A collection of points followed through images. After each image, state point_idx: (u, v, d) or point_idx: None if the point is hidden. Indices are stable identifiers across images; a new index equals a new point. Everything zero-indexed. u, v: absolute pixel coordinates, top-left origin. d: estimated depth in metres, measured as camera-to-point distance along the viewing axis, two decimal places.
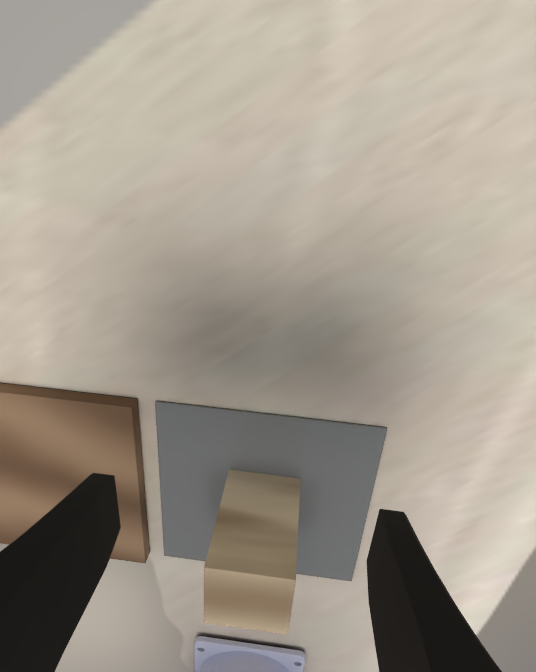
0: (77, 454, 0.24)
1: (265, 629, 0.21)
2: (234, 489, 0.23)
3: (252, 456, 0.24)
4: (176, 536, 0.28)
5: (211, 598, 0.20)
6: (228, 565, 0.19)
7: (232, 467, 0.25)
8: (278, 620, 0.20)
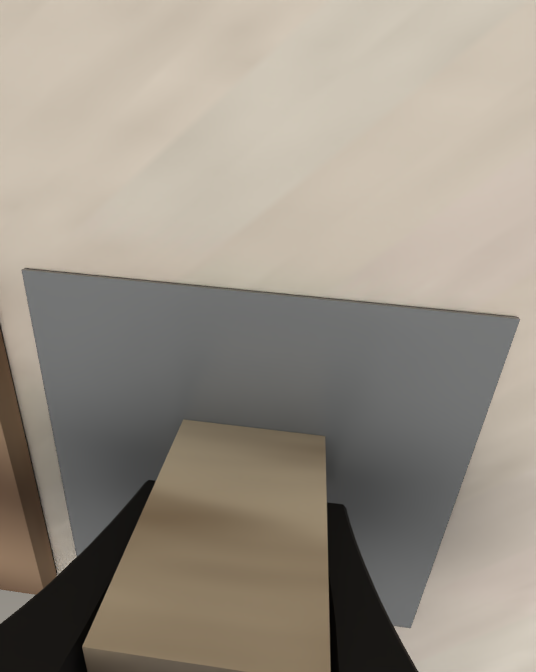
0: None
1: None
2: (189, 455, 0.11)
3: (228, 390, 0.12)
4: None
5: None
6: (151, 639, 0.07)
7: (189, 415, 0.12)
8: None
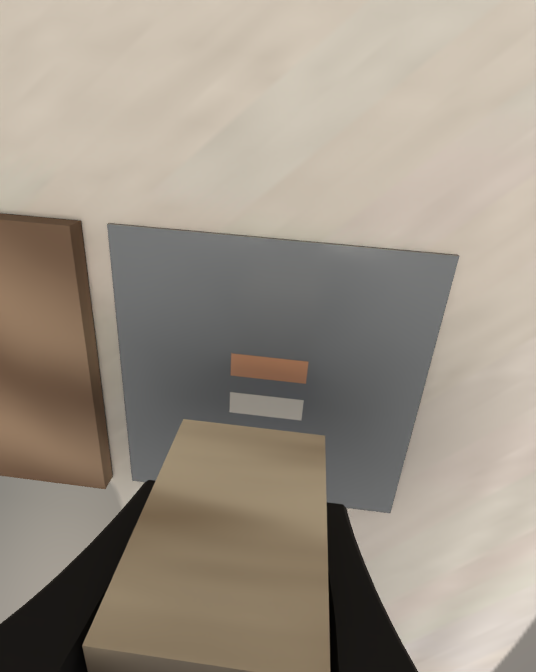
0: None
1: None
2: (189, 454, 0.11)
3: (253, 314, 0.16)
4: (148, 451, 0.20)
5: None
6: (150, 637, 0.07)
7: (223, 334, 0.17)
8: None
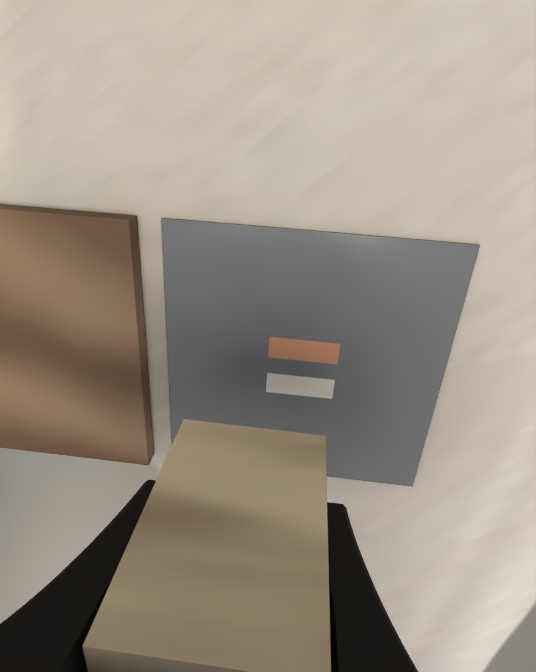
0: (57, 301, 0.18)
1: None
2: (190, 454, 0.11)
3: (291, 300, 0.18)
4: None
5: None
6: (151, 637, 0.07)
7: (263, 319, 0.18)
8: None
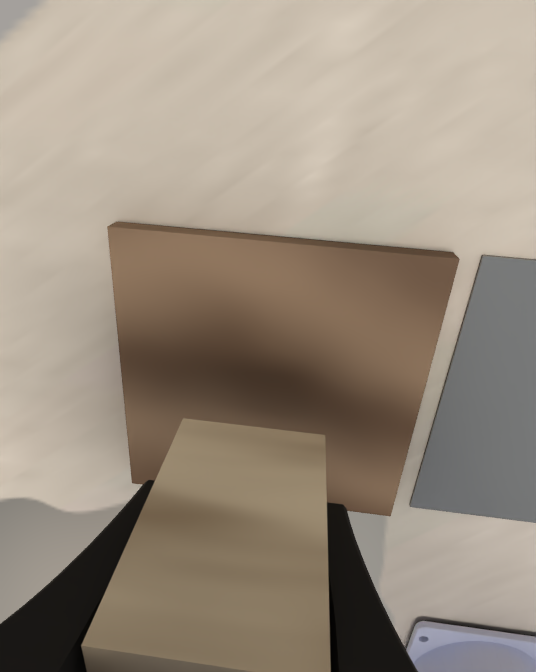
0: (343, 344, 0.16)
1: None
2: (189, 454, 0.11)
3: None
4: (436, 478, 0.20)
5: None
6: (150, 637, 0.07)
7: None
8: None
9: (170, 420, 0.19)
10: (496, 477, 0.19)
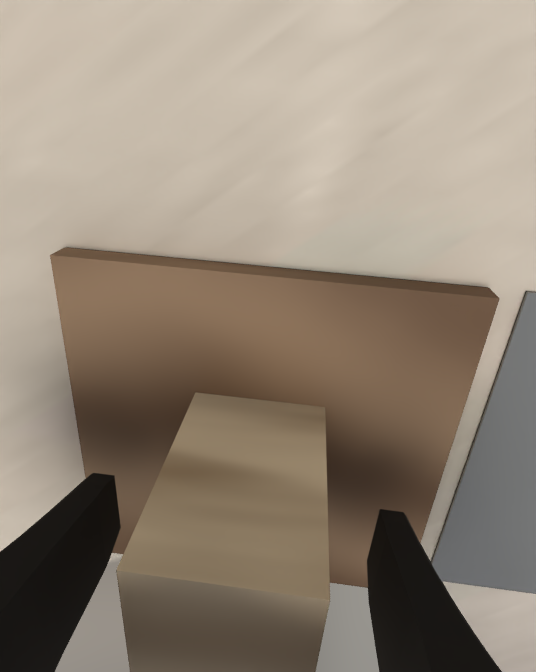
0: (348, 399, 0.13)
1: None
2: (202, 422, 0.12)
3: None
4: (459, 548, 0.17)
5: (141, 638, 0.09)
6: (174, 565, 0.08)
7: None
8: None
9: (139, 482, 0.16)
10: (531, 549, 0.16)
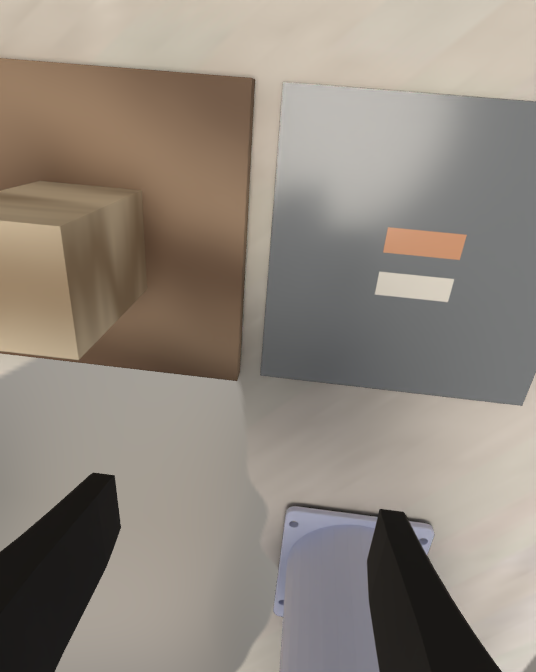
0: (158, 182, 0.17)
1: (43, 351, 0.13)
2: (33, 187, 0.16)
3: (418, 182, 0.16)
4: (281, 342, 0.20)
5: None
6: None
7: (383, 206, 0.17)
8: (57, 329, 0.13)
9: None
10: (337, 339, 0.20)
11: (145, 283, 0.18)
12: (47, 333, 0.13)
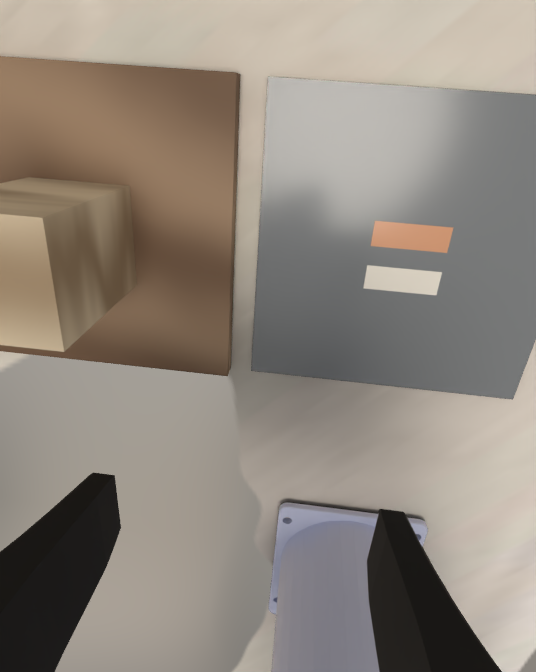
0: (146, 177, 0.17)
1: (29, 343, 0.13)
2: (21, 183, 0.16)
3: (403, 175, 0.16)
4: (271, 337, 0.20)
5: None
6: None
7: (370, 199, 0.17)
8: (42, 321, 0.13)
9: None
10: (327, 334, 0.20)
11: (135, 278, 0.18)
12: (32, 325, 0.13)
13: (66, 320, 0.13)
